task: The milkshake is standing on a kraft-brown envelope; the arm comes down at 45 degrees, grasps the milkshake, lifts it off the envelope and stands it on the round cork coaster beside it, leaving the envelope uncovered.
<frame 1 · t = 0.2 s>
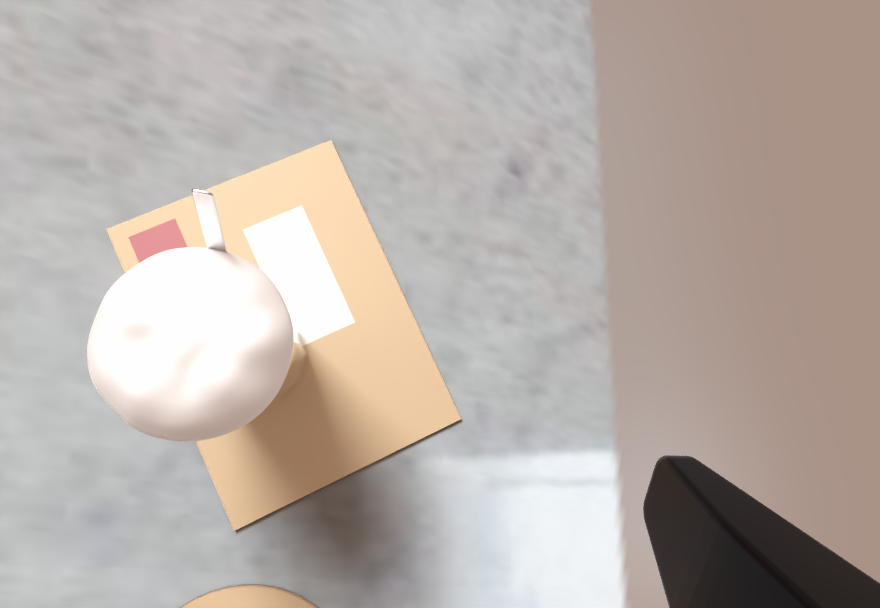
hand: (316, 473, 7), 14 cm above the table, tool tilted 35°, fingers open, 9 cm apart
milkshake: (266, 348, 22), resting on envelope
envelope: (285, 325, 22), on the table
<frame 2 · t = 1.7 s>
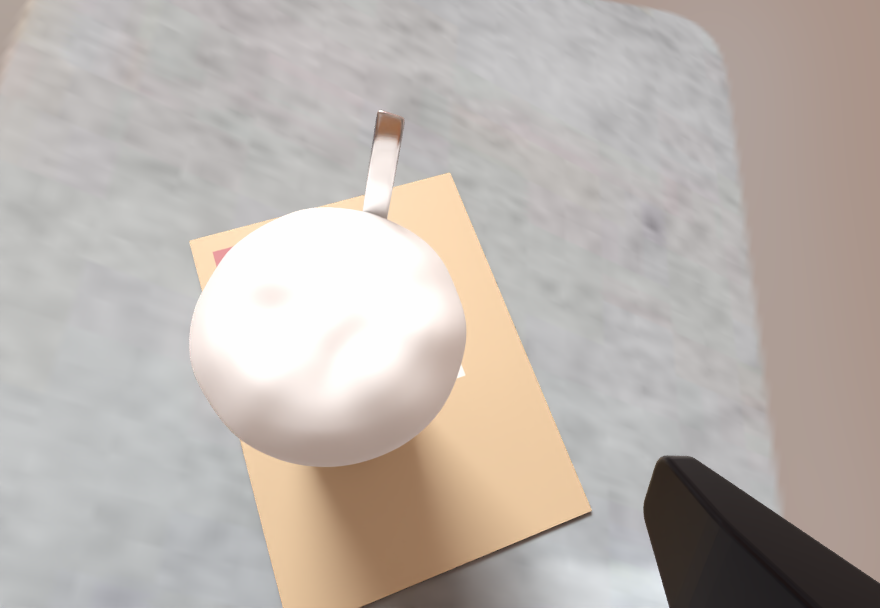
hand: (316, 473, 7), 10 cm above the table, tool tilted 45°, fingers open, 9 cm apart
milkshake: (355, 396, 18), resting on envelope
envelope: (381, 370, 18), on the table
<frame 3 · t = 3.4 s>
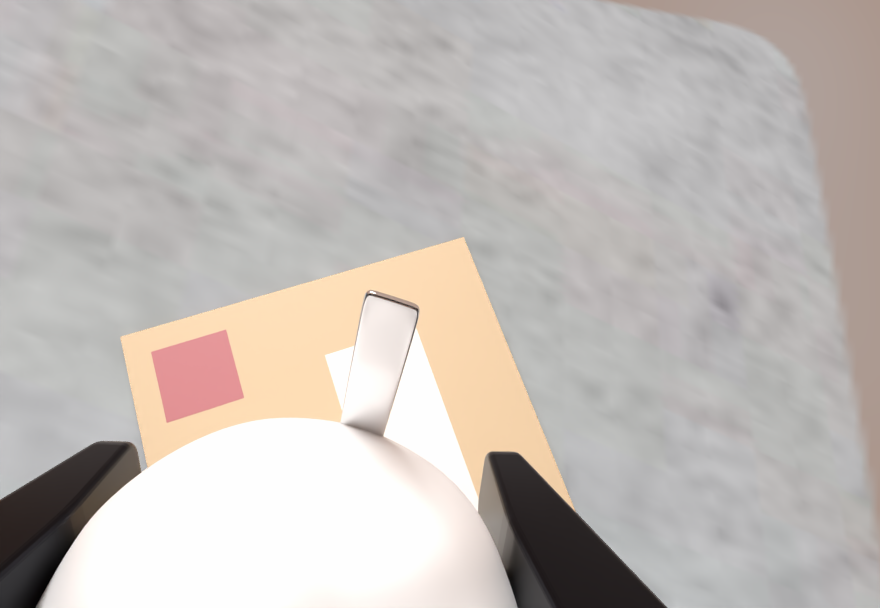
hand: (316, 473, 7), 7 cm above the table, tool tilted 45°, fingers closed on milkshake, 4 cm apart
milkshake: (339, 553, 13), resting on envelope, touching gripper
envelope: (374, 515, 13), on the table
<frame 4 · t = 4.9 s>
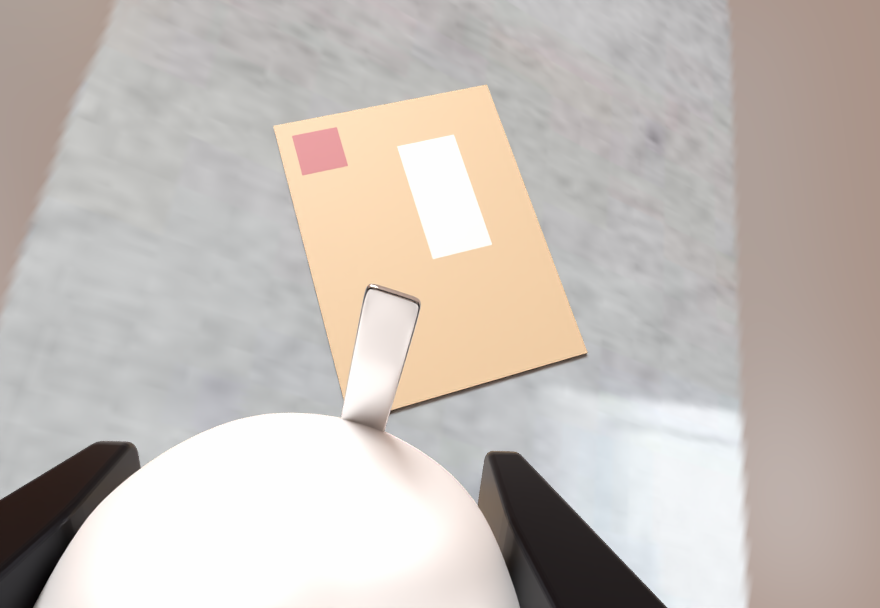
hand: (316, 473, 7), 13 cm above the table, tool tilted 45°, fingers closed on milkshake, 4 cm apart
milkshake: (339, 550, 13), point 6 cm above the table, touching gripper
envelope: (425, 236, 22), on the table
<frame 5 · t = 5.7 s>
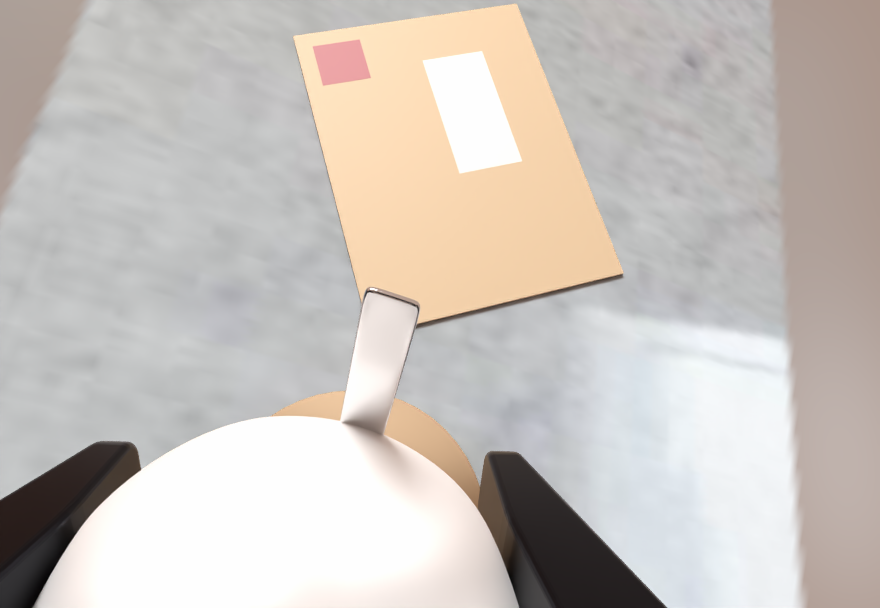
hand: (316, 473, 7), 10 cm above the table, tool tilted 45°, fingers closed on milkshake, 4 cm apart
milkshake: (339, 552, 13), point 4 cm above the table, touching gripper
envelope: (451, 151, 21), on the table
coaster: (347, 531, 17), on the table
when the fingers open (8 cm above the table, at t = 6.4 s): milkshake drops 1 cm, resting on coaster.
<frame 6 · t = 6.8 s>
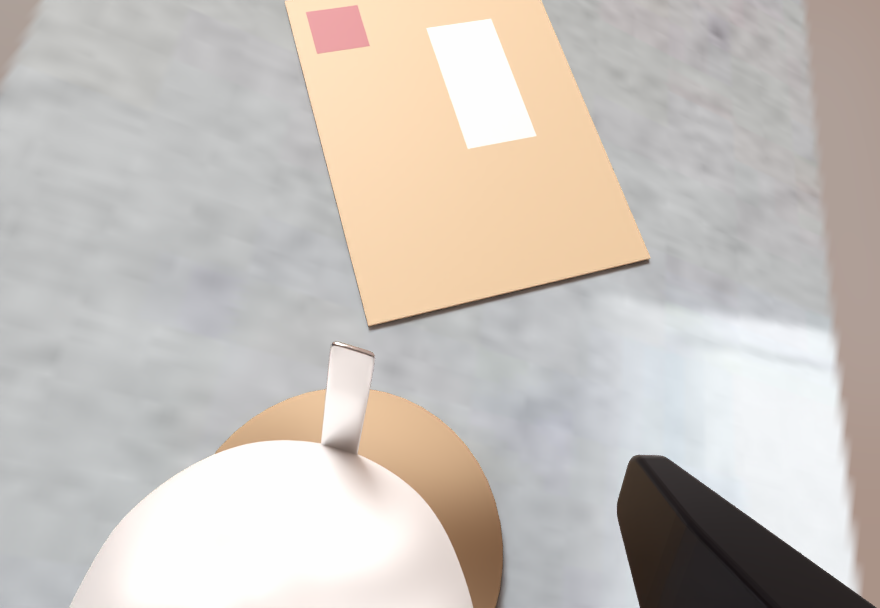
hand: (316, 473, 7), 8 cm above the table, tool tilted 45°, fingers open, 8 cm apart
milkshake: (337, 555, 14), resting on coaster
envelope: (458, 125, 19), on the table
coaster: (342, 548, 15), on the table
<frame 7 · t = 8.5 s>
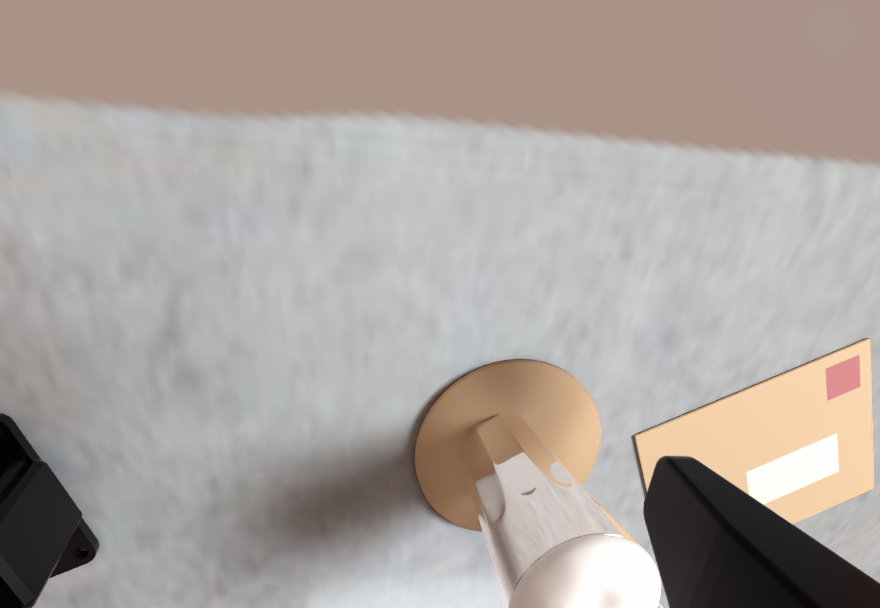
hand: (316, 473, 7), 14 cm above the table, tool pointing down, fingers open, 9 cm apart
milkshake: (506, 447, 24), resting on coaster
envelope: (762, 463, 28), on the table
coaster: (508, 446, 24), on the table
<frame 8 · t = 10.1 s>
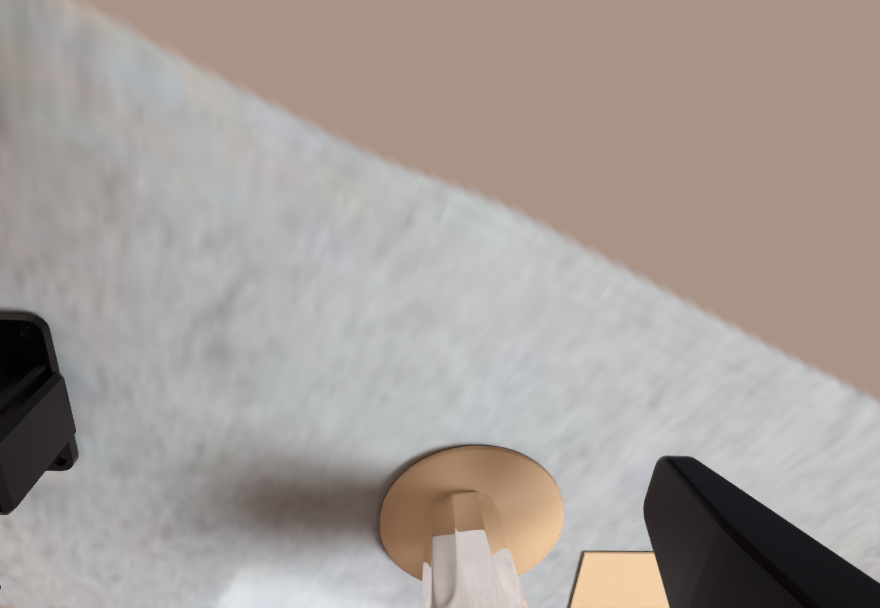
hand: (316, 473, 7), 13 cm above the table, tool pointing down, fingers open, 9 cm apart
milkshake: (469, 518, 25), resting on coaster
coaster: (471, 517, 26), on the table
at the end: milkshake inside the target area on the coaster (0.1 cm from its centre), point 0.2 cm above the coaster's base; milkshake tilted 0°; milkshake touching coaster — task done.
